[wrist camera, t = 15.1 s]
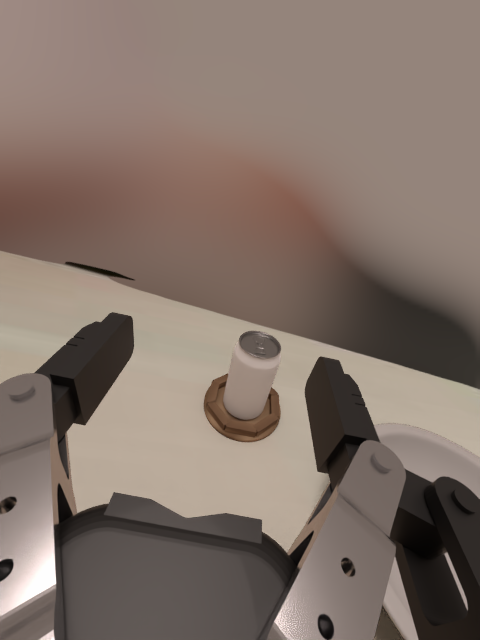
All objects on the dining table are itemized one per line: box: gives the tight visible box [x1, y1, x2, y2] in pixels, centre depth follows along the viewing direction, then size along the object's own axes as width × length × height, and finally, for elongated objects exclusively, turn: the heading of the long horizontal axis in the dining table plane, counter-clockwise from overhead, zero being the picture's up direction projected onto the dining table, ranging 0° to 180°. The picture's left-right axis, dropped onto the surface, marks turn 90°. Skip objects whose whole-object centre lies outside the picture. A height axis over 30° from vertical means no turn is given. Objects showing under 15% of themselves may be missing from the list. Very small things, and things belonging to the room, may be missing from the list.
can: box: [223, 331, 281, 420], centre depth 36 cm, size 6×6×12 cm
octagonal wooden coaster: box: [204, 374, 280, 442], centre depth 39 cm, size 12×12×2 cm
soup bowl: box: [374, 423, 480, 640], centre depth 26 cm, size 24×24×7 cm
